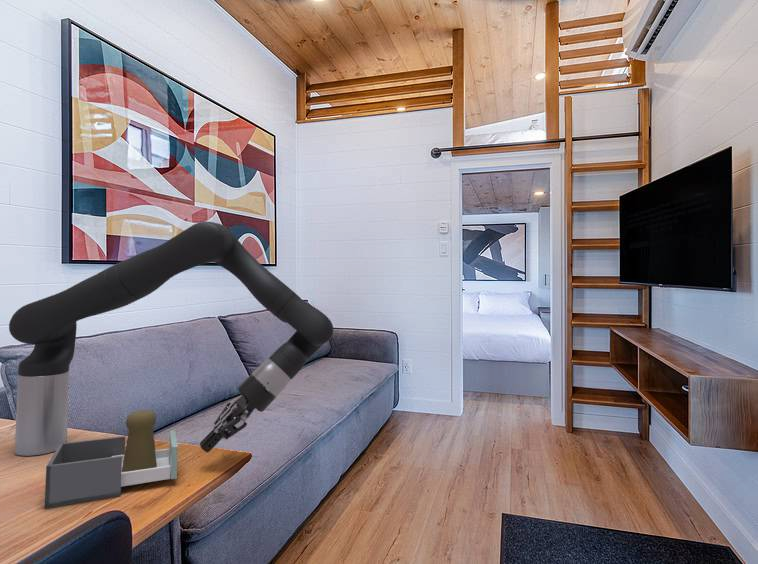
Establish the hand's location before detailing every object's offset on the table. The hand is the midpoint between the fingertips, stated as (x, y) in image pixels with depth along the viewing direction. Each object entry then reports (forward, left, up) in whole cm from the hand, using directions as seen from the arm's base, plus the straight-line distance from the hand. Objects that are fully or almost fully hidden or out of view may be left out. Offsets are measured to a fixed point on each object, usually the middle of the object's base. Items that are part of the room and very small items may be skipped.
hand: (203, 448), depth 89 cm
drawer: (+4, -10, -3) cm, 11 cm away
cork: (+4, -11, -2) cm, 12 cm away
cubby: (+7, -18, -4) cm, 20 cm away
